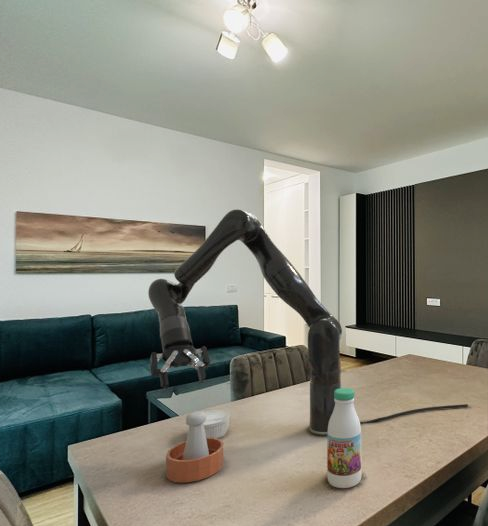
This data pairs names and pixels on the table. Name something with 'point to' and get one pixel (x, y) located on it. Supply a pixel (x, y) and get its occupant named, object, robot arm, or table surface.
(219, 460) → the bowl
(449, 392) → the table surface
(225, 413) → the ramekin
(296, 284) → the robot arm
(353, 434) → the milk bottle
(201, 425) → the salt shaker
